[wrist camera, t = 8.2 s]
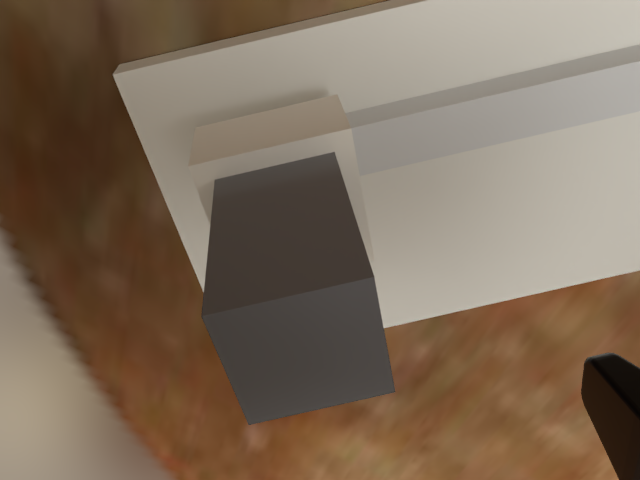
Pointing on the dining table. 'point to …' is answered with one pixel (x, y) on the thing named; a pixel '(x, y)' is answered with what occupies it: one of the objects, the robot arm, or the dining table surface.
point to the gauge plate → (437, 137)
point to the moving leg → (289, 261)
